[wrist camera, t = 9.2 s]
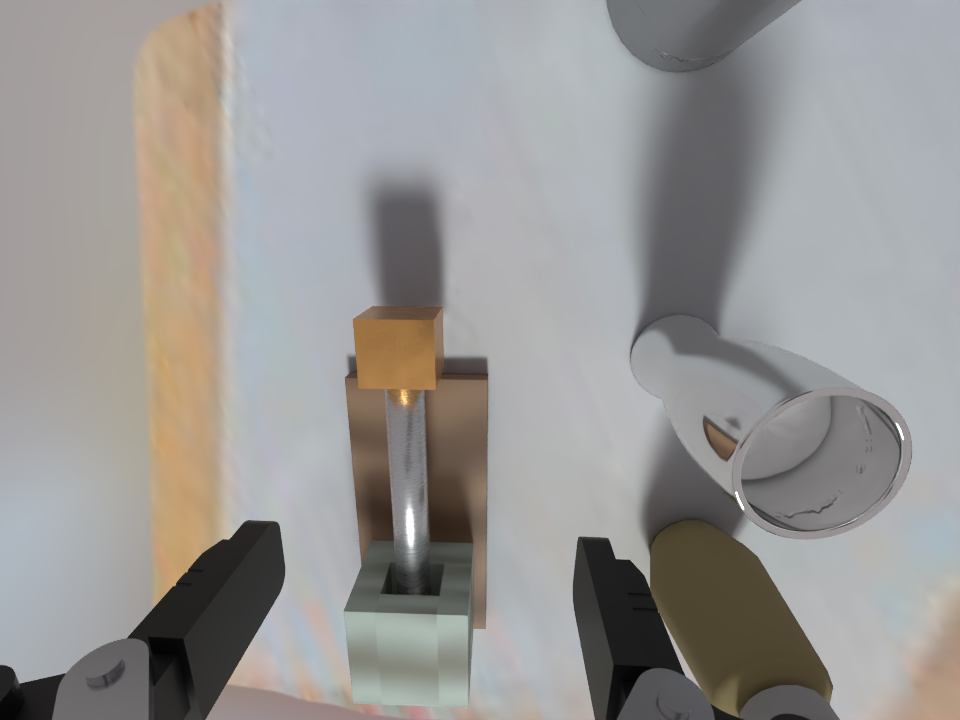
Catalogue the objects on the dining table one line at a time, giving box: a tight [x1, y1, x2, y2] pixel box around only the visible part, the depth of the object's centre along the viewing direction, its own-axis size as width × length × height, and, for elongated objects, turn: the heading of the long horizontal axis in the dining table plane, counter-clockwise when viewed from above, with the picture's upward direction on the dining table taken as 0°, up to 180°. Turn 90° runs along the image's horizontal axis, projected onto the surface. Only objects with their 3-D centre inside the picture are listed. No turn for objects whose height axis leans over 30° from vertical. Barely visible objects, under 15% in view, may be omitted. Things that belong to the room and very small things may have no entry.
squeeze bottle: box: [650, 520, 840, 720], centre depth 27 cm, size 8×8×18 cm
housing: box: [344, 373, 488, 708], centre depth 32 cm, size 22×10×8 cm, turn 0°
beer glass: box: [630, 315, 912, 539], centre depth 24 cm, size 7×7×15 cm
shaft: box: [353, 306, 444, 596], centre depth 29 cm, size 22×4×4 cm, turn 0°
